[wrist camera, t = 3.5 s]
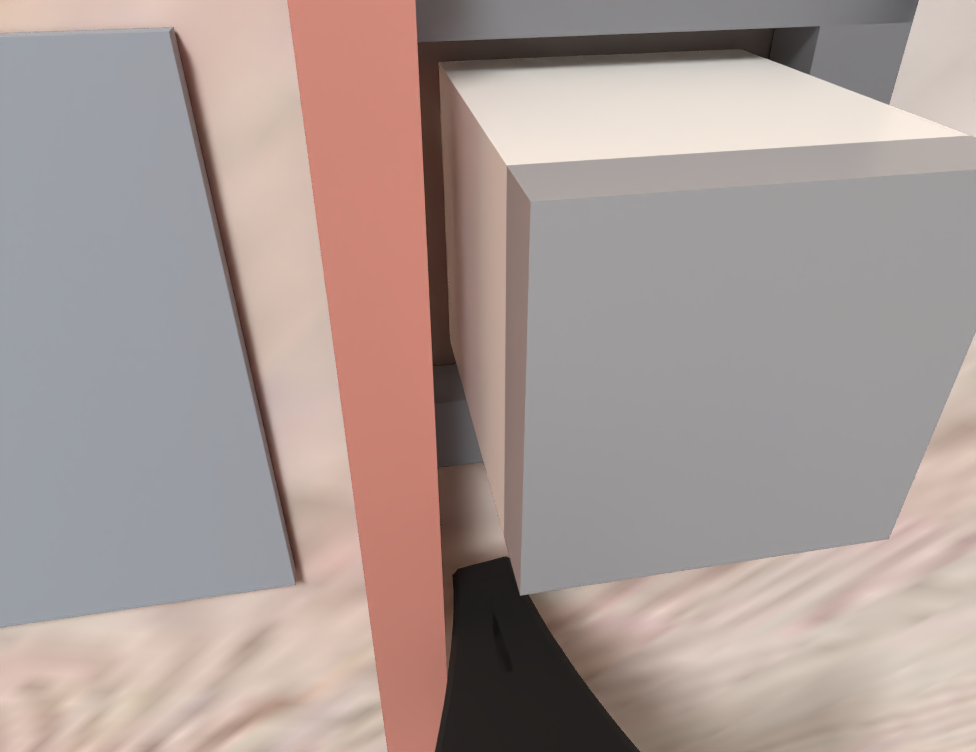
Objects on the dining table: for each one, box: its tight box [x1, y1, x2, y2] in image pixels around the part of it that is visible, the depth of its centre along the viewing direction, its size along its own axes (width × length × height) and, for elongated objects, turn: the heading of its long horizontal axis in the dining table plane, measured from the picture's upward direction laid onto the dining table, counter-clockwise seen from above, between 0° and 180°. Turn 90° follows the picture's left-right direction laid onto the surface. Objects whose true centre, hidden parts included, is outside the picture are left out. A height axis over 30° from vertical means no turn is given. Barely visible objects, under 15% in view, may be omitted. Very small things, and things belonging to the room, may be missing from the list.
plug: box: [439, 49, 976, 596], centre depth 8 cm, size 4×4×5 cm
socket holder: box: [415, 0, 919, 467], centre depth 10 cm, size 6×7×1 cm
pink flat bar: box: [287, 0, 447, 752], centre depth 10 cm, size 1×14×3 cm, turn 0°
